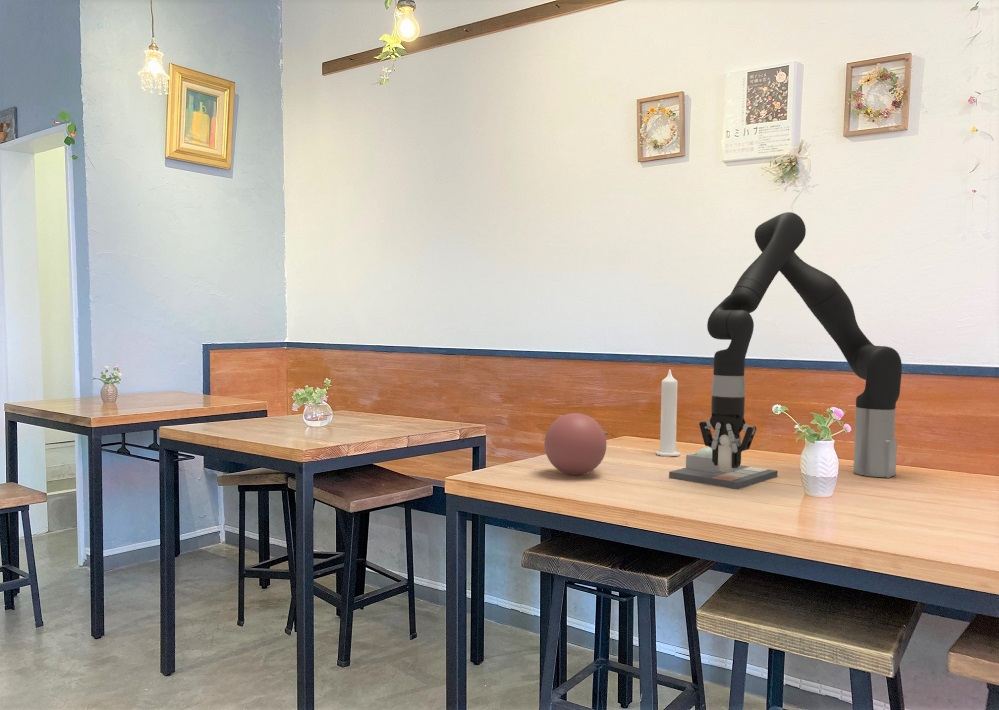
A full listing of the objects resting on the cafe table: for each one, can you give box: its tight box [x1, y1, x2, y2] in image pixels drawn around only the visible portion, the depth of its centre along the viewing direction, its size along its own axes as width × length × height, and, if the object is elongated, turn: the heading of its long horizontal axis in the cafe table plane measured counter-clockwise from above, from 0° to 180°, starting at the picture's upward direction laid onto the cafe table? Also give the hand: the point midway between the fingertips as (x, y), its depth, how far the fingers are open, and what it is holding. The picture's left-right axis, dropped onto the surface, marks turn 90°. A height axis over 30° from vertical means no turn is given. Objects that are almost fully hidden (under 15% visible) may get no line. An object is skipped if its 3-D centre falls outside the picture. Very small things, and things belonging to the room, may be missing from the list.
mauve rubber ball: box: [543, 412, 609, 476], centre depth 190 cm, size 15×20×15 cm
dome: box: [697, 446, 712, 458], centre depth 192 cm, size 5×5×5 cm
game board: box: [668, 451, 778, 490], centre depth 189 cm, size 18×22×5 cm
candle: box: [655, 369, 681, 457], centre depth 221 cm, size 7×7×25 cm
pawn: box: [717, 435, 735, 472], centre depth 180 cm, size 4×4×9 cm
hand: (726, 466), depth 180 cm, fingers closed on pawn, 4 cm apart
